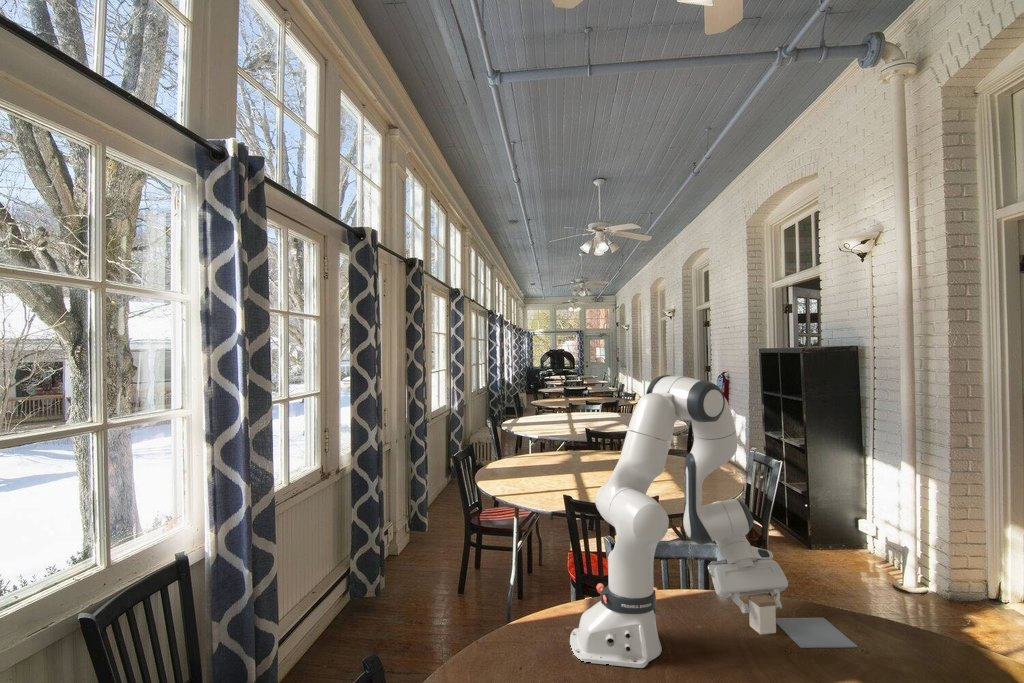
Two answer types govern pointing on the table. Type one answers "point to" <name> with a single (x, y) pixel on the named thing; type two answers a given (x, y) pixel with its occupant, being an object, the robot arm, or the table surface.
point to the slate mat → (814, 633)
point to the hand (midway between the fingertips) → (762, 610)
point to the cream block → (762, 614)
